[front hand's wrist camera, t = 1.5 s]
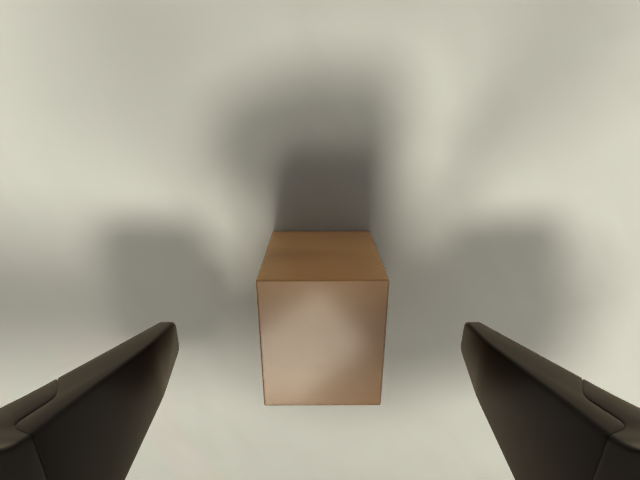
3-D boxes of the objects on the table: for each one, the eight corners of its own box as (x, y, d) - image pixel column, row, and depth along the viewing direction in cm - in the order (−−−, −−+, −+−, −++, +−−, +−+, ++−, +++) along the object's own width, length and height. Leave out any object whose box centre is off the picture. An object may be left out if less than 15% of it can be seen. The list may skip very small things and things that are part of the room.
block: (365, 330, 17) (380, 405, 13) (277, 330, 17) (264, 406, 13) (370, 230, 15) (389, 279, 11) (273, 231, 15) (255, 280, 11)
